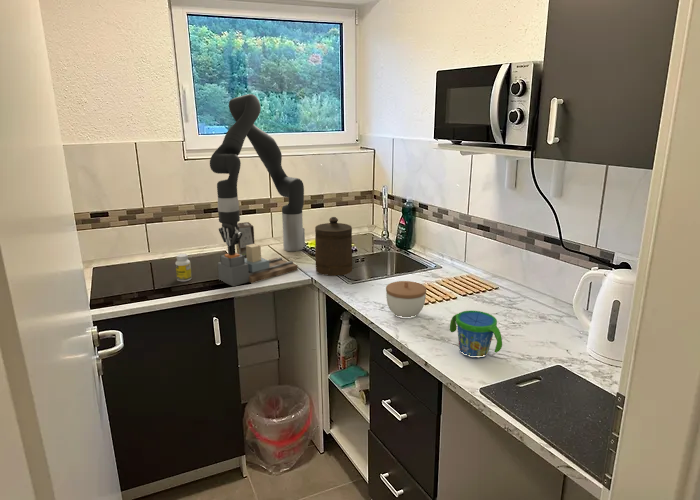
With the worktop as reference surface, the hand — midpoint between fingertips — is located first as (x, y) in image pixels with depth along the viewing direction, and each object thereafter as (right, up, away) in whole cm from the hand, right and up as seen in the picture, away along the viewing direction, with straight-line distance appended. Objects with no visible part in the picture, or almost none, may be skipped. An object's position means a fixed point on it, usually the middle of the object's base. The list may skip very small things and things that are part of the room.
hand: (231, 254), depth 182 cm
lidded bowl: (+62, -19, -27) cm, 70 cm away
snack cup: (+78, -26, -51) cm, 97 cm away
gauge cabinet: (0, -10, +3) cm, 11 cm away
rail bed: (+10, -7, +13) cm, 18 cm away
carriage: (+7, -5, +9) cm, 12 cm away
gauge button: (0, -3, +1) cm, 3 cm away
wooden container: (+38, -7, +15) cm, 41 cm away
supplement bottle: (-19, -10, +5) cm, 22 cm away
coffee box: (0, -3, +27) cm, 27 cm away
